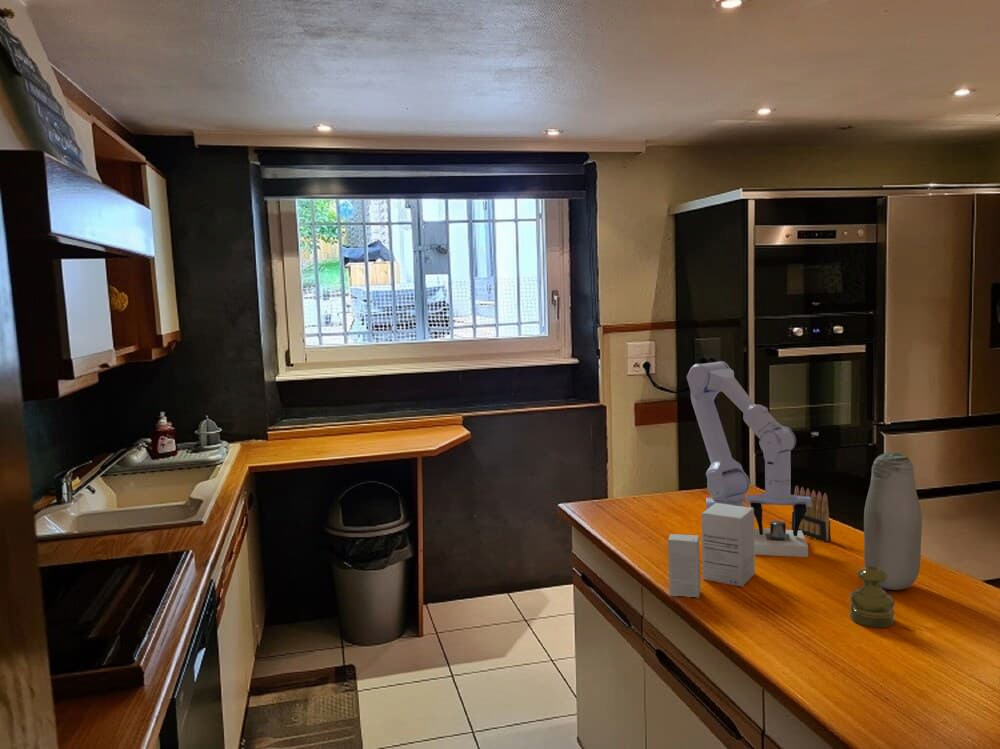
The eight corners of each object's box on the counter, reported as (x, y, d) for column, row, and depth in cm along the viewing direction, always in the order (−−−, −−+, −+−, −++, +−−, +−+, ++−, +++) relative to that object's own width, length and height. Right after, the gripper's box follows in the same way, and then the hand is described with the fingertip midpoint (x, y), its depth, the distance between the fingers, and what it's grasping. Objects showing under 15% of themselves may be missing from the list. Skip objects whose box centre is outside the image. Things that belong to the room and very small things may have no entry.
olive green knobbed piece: (892, 632, 135) (893, 578, 134) (847, 623, 139) (847, 571, 138) (896, 616, 141) (896, 564, 140) (852, 609, 145) (852, 558, 144)
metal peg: (770, 549, 179) (770, 525, 179) (769, 544, 183) (769, 520, 182) (786, 550, 179) (786, 525, 178) (784, 545, 182) (784, 521, 181)
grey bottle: (874, 574, 161) (875, 446, 158) (926, 586, 154) (929, 452, 151) (856, 588, 154) (857, 454, 152) (910, 601, 147) (912, 461, 144)
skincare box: (700, 591, 157) (699, 535, 155) (699, 599, 153) (698, 541, 151) (671, 588, 159) (670, 533, 157) (668, 596, 155) (667, 539, 153)
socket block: (753, 554, 176) (753, 544, 176) (750, 538, 188) (750, 528, 188) (808, 557, 173) (808, 546, 173) (801, 540, 185) (801, 530, 185)
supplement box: (715, 566, 170) (714, 501, 168) (755, 573, 165) (755, 507, 163) (701, 579, 163) (700, 512, 161) (742, 587, 157) (742, 518, 156)
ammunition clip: (830, 541, 184) (831, 493, 182) (825, 542, 183) (825, 494, 182) (796, 529, 193) (796, 484, 192) (791, 530, 192) (791, 485, 191)
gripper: (746, 482, 177) (747, 538, 178) (812, 483, 173) (812, 540, 175) (745, 475, 184) (745, 529, 185) (808, 476, 180) (808, 531, 181)
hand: (777, 534), depth 180 cm, fingers open, 7 cm apart
